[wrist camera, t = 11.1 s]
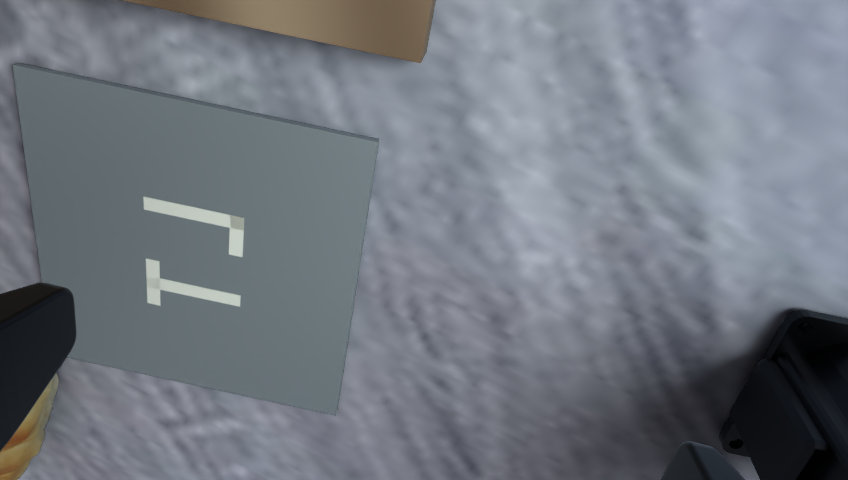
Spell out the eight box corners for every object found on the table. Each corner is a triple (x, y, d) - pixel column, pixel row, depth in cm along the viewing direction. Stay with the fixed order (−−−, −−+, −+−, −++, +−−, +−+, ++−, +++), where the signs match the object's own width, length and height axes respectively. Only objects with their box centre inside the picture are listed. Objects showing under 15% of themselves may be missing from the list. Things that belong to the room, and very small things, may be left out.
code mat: (379, 139, 20) (377, 142, 20) (337, 410, 26) (335, 416, 26) (18, 62, 20) (11, 65, 20) (56, 349, 26) (51, 354, 26)
